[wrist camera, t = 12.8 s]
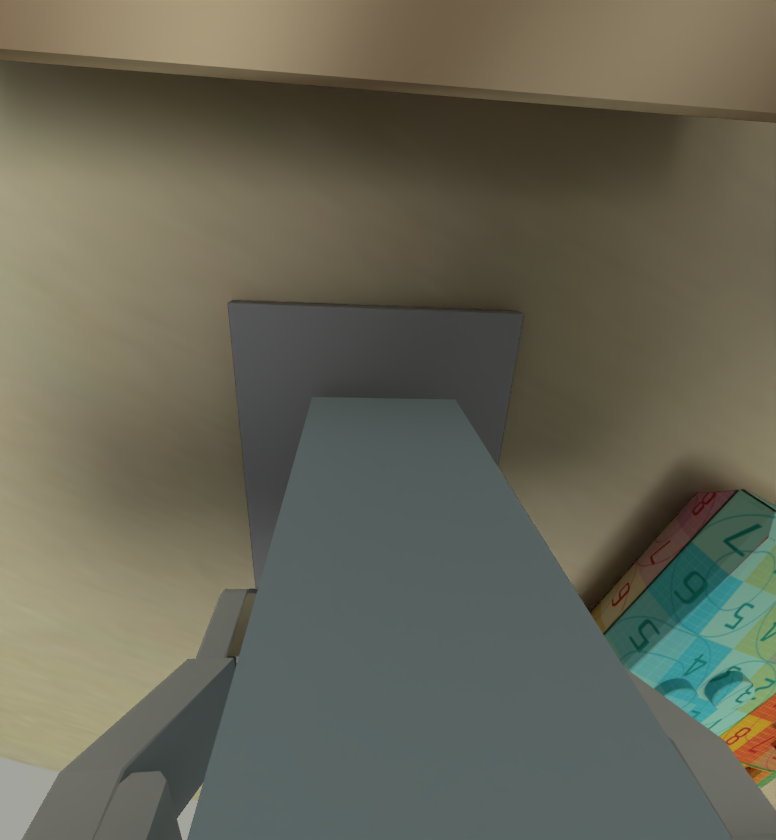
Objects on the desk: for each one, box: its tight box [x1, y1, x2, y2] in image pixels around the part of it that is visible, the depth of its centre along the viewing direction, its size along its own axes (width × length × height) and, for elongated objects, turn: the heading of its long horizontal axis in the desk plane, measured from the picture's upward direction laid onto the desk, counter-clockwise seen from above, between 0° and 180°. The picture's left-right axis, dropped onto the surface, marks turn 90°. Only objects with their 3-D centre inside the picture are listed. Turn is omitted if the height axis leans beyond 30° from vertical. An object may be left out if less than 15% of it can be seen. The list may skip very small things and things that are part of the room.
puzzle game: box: [590, 489, 776, 789], centre depth 19 cm, size 12×5×20 cm
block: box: [187, 397, 732, 840], centre depth 8 cm, size 7×4×10 cm, turn 178°
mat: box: [228, 300, 524, 588], centre depth 15 cm, size 11×9×1 cm
